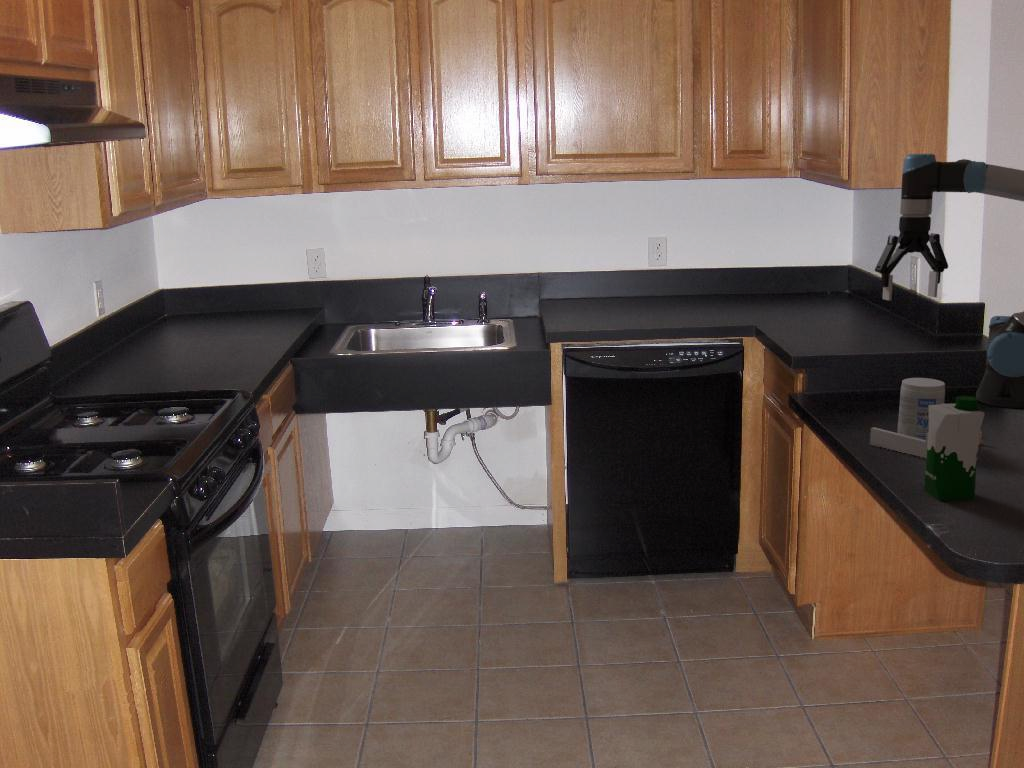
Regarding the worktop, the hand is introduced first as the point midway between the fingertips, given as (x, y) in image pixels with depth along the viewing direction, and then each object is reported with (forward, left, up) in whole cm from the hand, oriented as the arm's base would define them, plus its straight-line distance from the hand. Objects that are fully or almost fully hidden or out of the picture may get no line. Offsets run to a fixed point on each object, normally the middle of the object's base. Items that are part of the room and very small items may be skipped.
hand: (909, 298), depth 270 cm
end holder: (+19, +33, -29) cm, 48 cm away
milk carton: (+34, +63, -29) cm, 77 cm away
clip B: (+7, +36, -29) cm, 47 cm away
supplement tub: (+19, +33, -28) cm, 47 cm away
